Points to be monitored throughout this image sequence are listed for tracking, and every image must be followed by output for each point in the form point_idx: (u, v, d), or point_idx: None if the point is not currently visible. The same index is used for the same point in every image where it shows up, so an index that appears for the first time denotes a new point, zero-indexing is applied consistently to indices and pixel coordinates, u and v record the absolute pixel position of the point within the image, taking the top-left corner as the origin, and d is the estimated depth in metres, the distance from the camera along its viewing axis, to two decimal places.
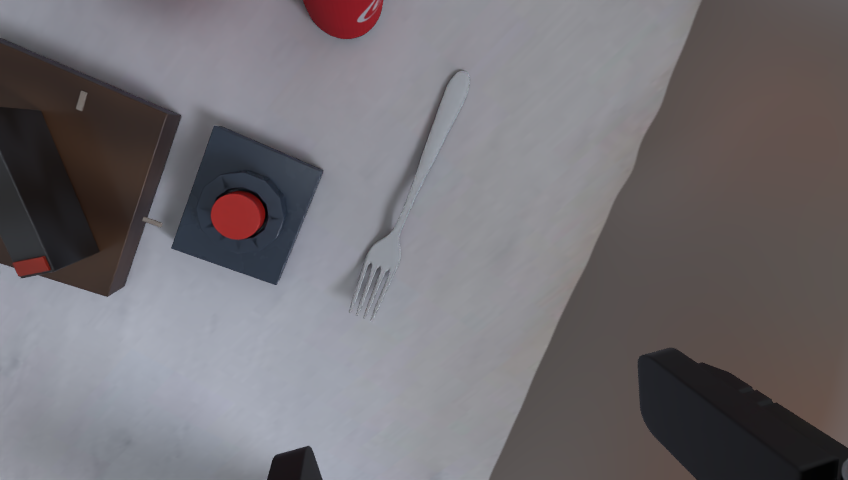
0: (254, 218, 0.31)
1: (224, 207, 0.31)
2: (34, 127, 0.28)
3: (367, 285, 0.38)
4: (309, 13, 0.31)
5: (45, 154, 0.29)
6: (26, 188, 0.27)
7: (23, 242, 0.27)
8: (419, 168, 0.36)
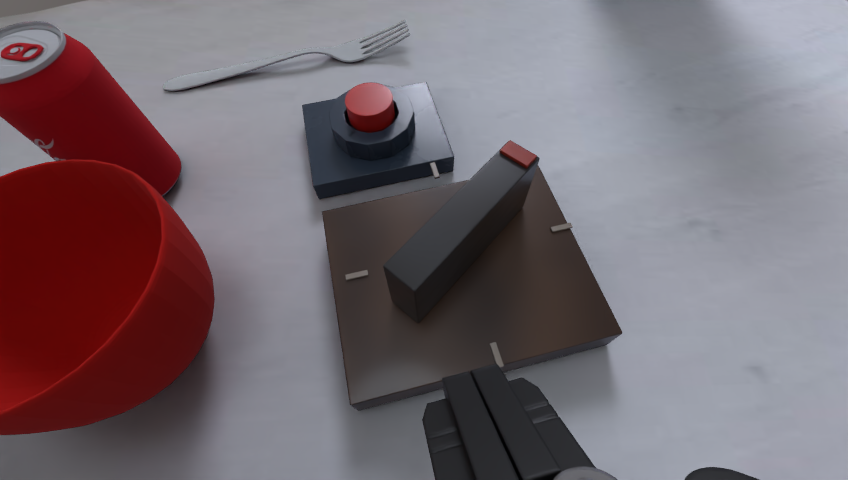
0: (360, 88, 0.31)
1: (365, 108, 0.30)
2: None
3: (381, 43, 0.40)
4: (163, 172, 0.30)
5: None
6: None
7: (500, 171, 0.23)
8: (259, 66, 0.39)
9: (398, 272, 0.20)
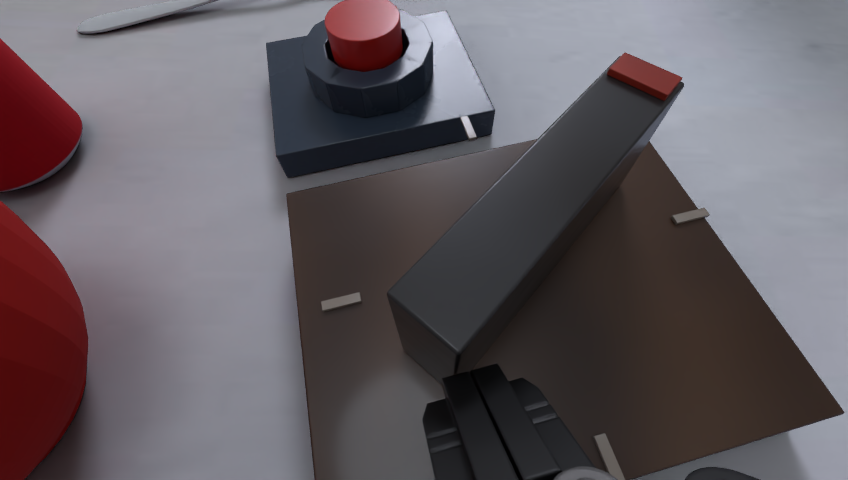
0: (348, 3, 0.20)
1: (357, 30, 0.19)
2: None
3: None
4: (43, 137, 0.20)
5: None
6: None
7: (613, 107, 0.12)
8: None
9: (421, 308, 0.09)
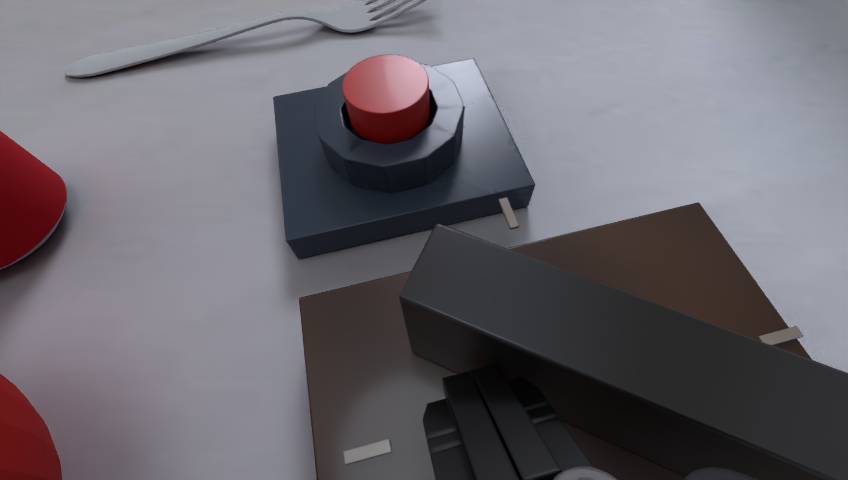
0: (369, 64, 0.17)
1: (380, 99, 0.16)
2: None
3: (398, 3, 0.26)
4: (20, 217, 0.17)
5: None
6: None
7: (835, 417, 0.08)
8: (212, 38, 0.25)
9: (431, 254, 0.10)
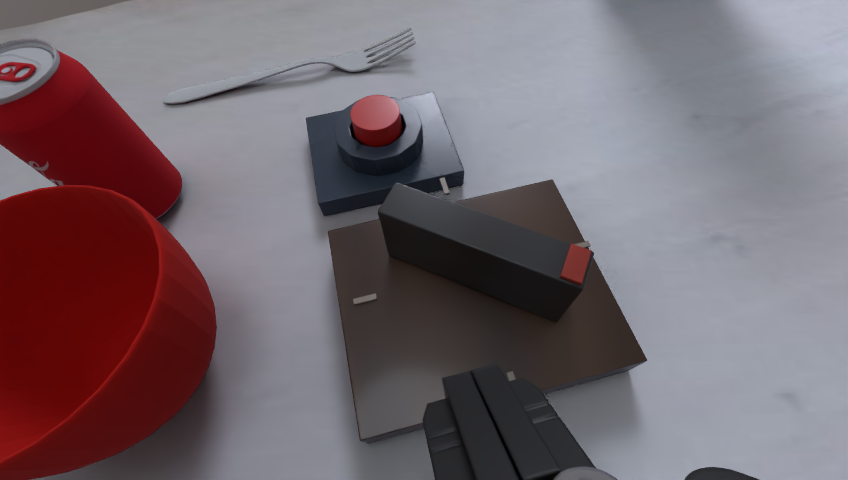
0: (365, 100, 0.29)
1: (372, 122, 0.28)
2: None
3: (386, 51, 0.39)
4: (163, 190, 0.29)
5: None
6: None
7: (542, 251, 0.20)
8: (261, 77, 0.38)
9: (392, 195, 0.22)
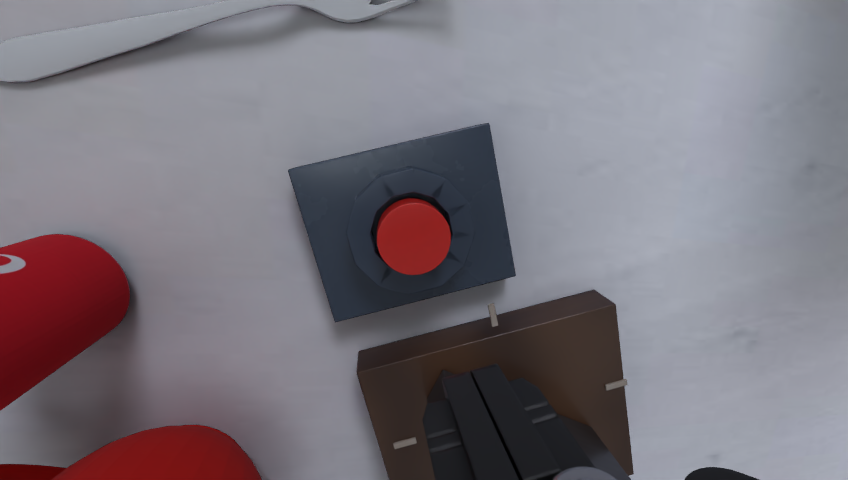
0: (399, 216, 0.19)
1: (411, 260, 0.20)
2: None
3: None
4: (113, 314, 0.21)
5: None
6: None
7: None
8: (170, 32, 0.20)
9: None
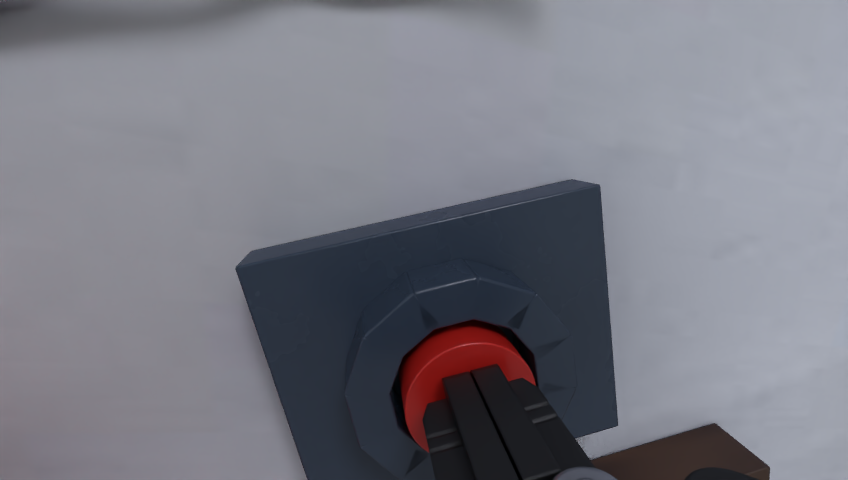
0: (448, 366, 0.10)
1: None
2: None
3: None
4: None
5: None
6: None
7: None
8: None
9: None
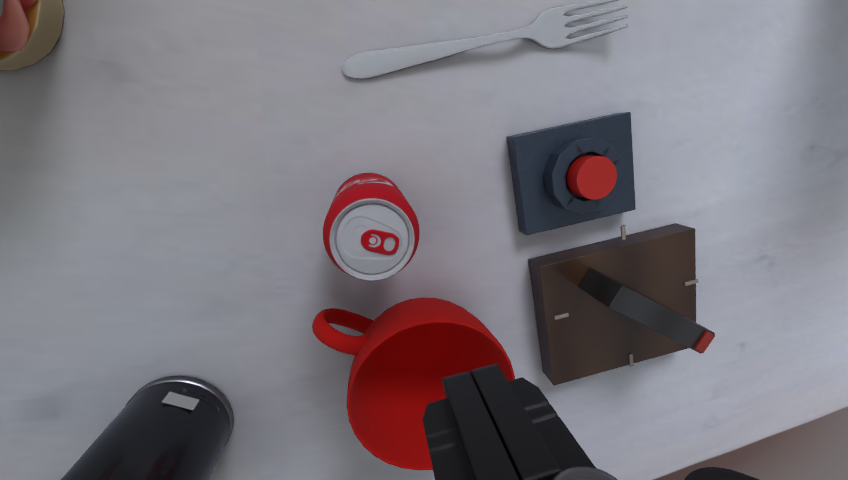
0: (591, 163, 0.33)
1: (593, 190, 0.34)
2: None
3: (590, 26, 0.34)
4: None
5: None
6: None
7: (690, 333, 0.35)
8: (454, 51, 0.33)
9: (619, 296, 0.33)
